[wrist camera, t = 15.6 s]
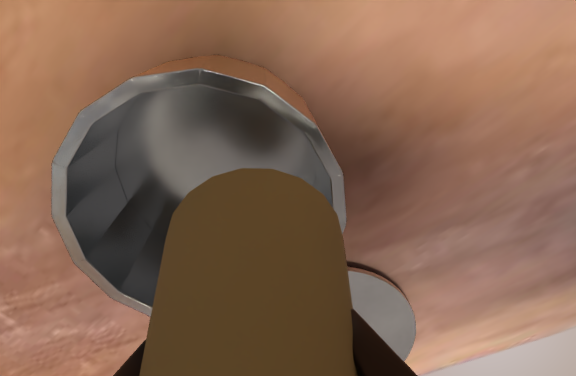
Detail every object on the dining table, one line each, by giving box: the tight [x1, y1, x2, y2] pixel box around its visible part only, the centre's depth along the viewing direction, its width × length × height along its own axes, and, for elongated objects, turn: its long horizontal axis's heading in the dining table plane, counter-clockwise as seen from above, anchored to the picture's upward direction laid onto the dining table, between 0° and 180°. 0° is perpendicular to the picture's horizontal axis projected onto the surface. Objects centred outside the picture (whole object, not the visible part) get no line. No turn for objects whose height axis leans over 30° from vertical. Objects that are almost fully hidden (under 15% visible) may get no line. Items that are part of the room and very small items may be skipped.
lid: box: [347, 267, 416, 361], centre depth 24 cm, size 13×13×6 cm
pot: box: [51, 55, 347, 317], centre depth 18 cm, size 12×12×6 cm
